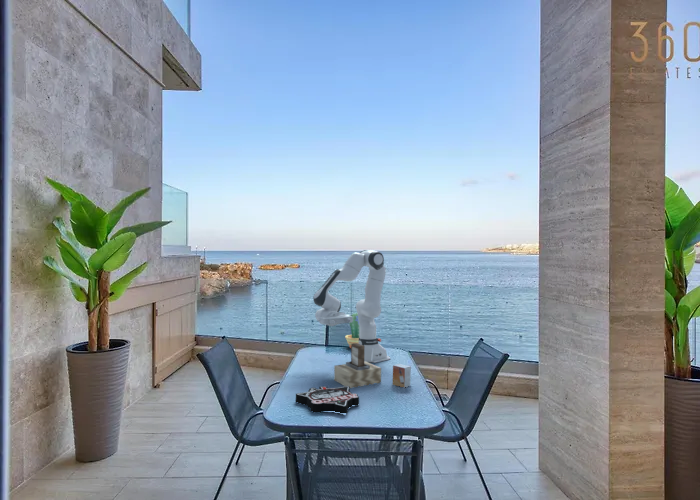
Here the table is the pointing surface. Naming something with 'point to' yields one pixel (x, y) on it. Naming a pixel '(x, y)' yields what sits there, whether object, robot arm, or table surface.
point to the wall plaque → (328, 399)
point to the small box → (401, 375)
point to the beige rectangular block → (357, 374)
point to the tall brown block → (357, 354)
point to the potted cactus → (353, 331)
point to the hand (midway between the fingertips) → (342, 321)
